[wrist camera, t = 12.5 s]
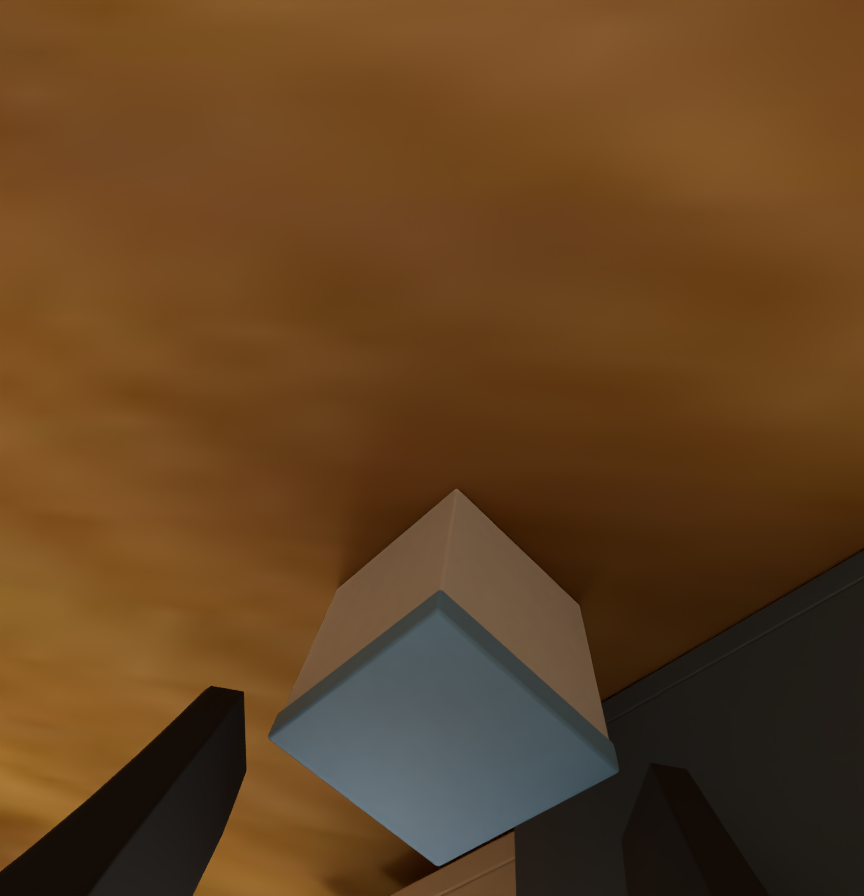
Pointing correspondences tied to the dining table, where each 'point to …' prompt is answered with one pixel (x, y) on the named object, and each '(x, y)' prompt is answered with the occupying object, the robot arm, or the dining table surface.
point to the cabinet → (736, 752)
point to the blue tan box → (450, 688)
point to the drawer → (472, 874)
